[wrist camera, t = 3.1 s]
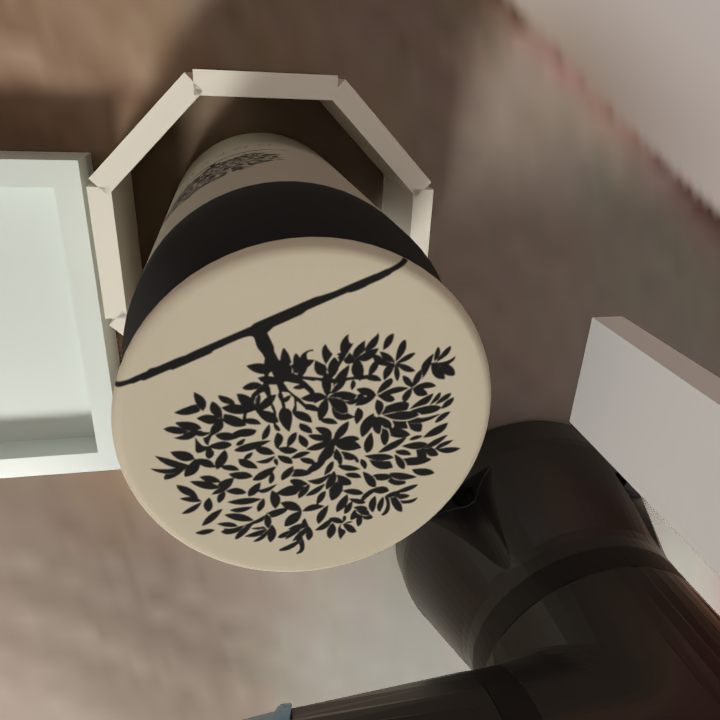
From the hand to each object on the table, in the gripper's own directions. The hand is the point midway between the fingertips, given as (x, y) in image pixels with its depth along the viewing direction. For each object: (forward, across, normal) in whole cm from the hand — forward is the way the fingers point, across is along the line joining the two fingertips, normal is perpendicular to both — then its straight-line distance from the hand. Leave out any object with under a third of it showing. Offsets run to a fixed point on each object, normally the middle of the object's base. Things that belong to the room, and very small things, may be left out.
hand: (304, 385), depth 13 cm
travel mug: (+17, 0, 0) cm, 17 cm away
